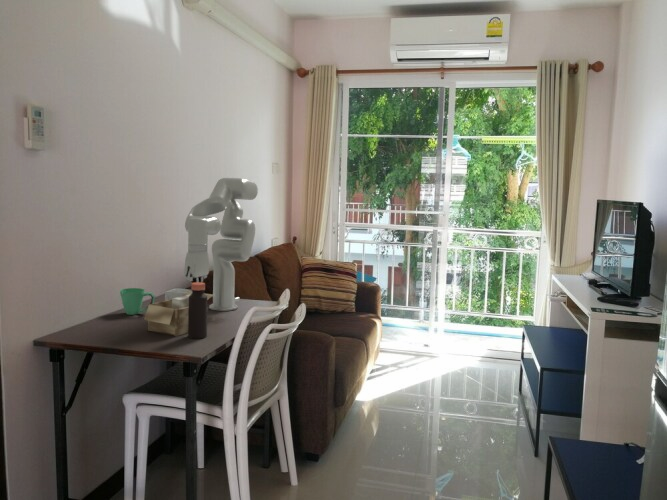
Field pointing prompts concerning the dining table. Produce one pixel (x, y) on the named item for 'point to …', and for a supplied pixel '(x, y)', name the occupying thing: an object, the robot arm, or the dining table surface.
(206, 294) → the rear flap
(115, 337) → the dining table surface
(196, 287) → the bottle
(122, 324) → the dining table surface
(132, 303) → the mug
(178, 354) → the dining table surface
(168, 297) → the ink box
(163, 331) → the carton
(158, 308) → the front flap
